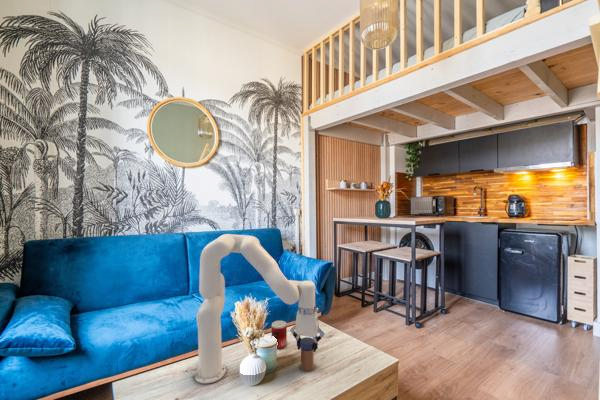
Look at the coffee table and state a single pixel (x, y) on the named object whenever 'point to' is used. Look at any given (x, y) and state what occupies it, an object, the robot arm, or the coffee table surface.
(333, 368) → the coffee table surface
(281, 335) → the canned food
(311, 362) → the jar
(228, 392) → the coffee table surface
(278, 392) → the coffee table surface
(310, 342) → the lid
